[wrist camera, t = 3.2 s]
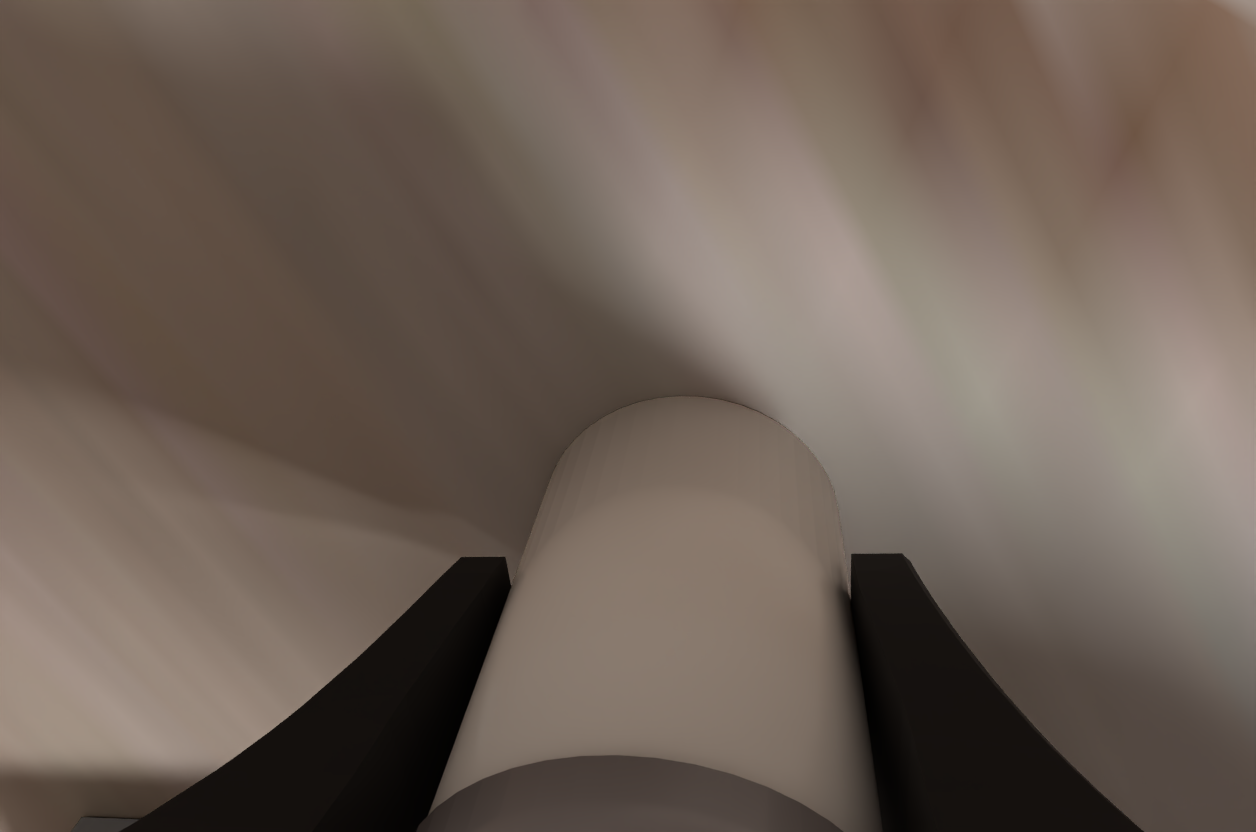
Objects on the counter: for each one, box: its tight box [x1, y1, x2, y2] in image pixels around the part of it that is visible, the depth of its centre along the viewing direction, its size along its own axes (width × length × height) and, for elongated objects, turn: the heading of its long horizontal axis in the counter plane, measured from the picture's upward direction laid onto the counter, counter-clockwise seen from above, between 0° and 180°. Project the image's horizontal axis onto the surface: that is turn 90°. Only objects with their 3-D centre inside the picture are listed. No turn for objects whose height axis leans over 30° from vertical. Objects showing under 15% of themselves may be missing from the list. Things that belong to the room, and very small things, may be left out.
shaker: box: [415, 396, 883, 832], centre depth 10 cm, size 5×5×8 cm
